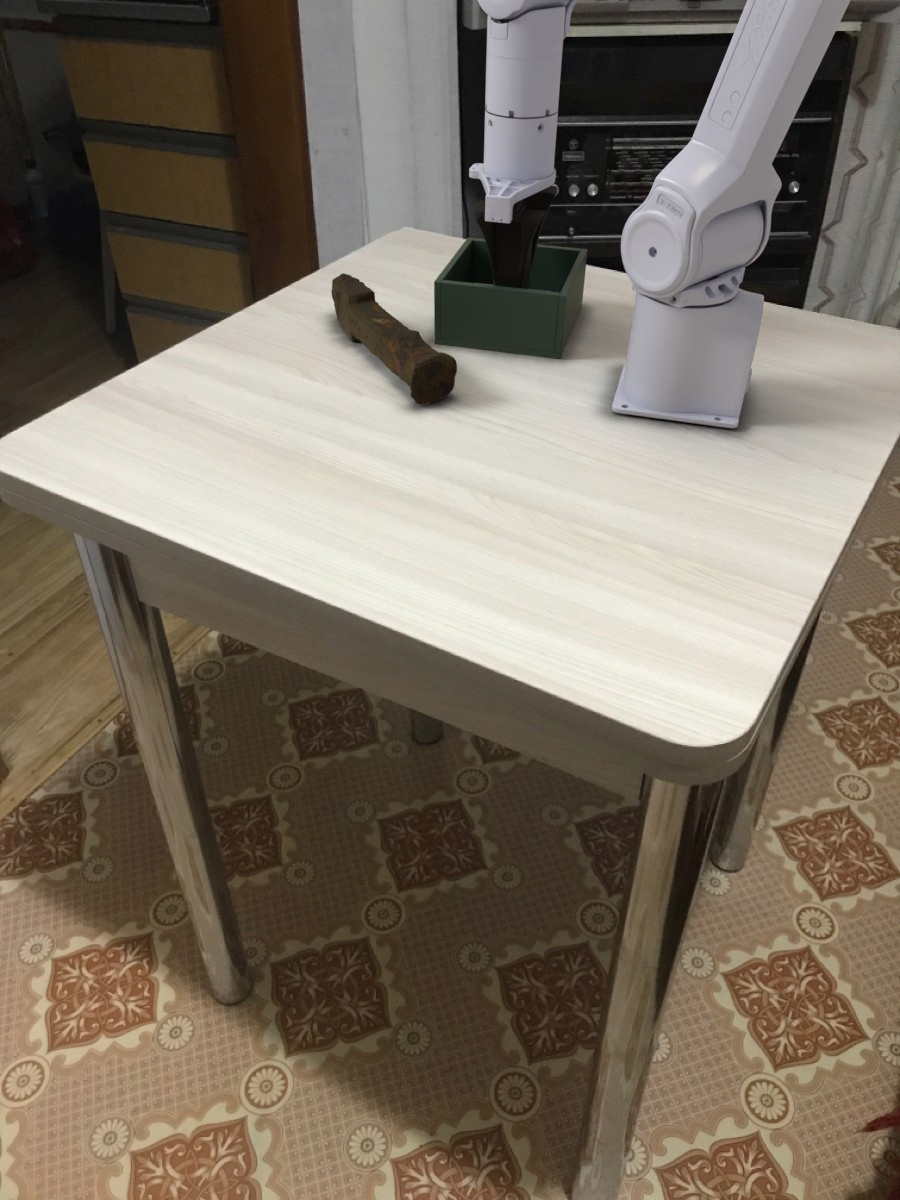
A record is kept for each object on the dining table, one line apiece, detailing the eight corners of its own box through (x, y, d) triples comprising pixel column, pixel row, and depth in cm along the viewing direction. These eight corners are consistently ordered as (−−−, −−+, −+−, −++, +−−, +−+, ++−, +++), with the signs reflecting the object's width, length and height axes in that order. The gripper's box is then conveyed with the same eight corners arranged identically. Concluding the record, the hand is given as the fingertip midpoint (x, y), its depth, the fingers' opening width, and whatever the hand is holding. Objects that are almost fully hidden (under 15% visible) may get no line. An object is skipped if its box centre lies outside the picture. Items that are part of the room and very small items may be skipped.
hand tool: (459, 399, 72) (460, 343, 69) (413, 410, 70) (412, 353, 67) (365, 312, 85) (363, 262, 82) (325, 320, 83) (321, 269, 80)
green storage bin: (581, 308, 86) (587, 249, 82) (560, 359, 77) (566, 296, 74) (466, 295, 88) (467, 237, 84) (434, 343, 80) (433, 281, 76)
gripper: (493, 87, 77) (488, 248, 86) (447, 128, 67) (446, 308, 75) (575, 92, 76) (561, 256, 85) (541, 136, 65) (530, 318, 74)
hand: (512, 281), depth 80 cm, fingers closed on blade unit, 3 cm apart
